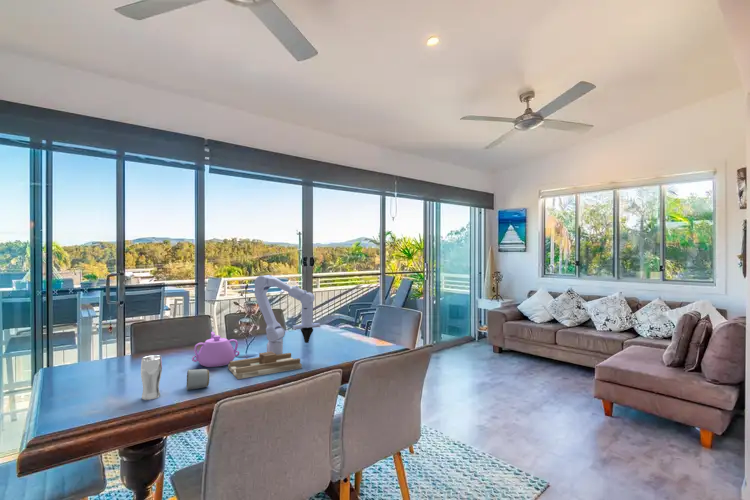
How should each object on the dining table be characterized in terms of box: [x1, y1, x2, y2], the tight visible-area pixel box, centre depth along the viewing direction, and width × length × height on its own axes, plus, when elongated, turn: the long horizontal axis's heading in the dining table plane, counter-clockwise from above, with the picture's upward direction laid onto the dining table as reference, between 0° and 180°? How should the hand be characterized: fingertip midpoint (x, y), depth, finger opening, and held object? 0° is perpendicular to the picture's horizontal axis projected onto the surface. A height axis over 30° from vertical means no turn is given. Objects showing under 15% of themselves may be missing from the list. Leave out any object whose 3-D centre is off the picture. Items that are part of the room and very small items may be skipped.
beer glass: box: [140, 354, 163, 401], centre depth 144 cm, size 7×7×15 cm
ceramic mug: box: [186, 368, 210, 391], centre depth 156 cm, size 11×8×8 cm
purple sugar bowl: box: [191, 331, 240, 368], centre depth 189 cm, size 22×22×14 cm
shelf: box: [227, 352, 303, 380], centre depth 181 cm, size 17×30×4 cm, turn 124°
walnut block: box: [258, 351, 276, 364], centre depth 181 cm, size 6×6×5 cm
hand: (306, 342), depth 195 cm, fingers closed
